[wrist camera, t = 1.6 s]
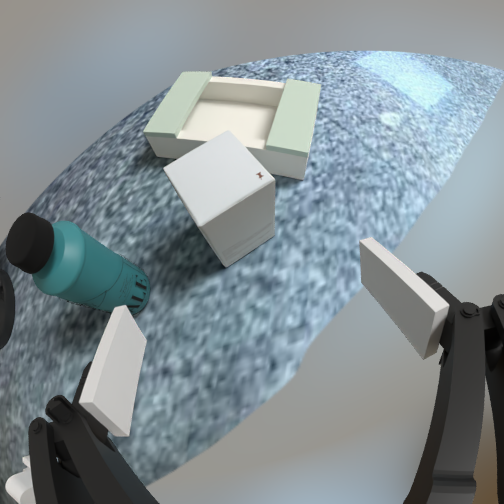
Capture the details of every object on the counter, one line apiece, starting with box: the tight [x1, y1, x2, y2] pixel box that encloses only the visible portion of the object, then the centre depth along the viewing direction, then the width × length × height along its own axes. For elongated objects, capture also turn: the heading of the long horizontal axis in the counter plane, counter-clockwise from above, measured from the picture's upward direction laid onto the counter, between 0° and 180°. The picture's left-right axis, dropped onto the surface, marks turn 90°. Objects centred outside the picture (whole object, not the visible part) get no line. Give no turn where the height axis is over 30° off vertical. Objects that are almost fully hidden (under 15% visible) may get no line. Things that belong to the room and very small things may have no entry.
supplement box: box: [163, 130, 275, 267], centre depth 28 cm, size 7×7×13 cm
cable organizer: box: [6, 455, 36, 504], centre depth 18 cm, size 5×10×10 cm, turn 74°
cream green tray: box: [143, 72, 321, 180], centre depth 37 cm, size 22×14×6 cm, turn 75°
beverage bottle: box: [6, 213, 150, 315], centre depth 23 cm, size 6×7×20 cm
